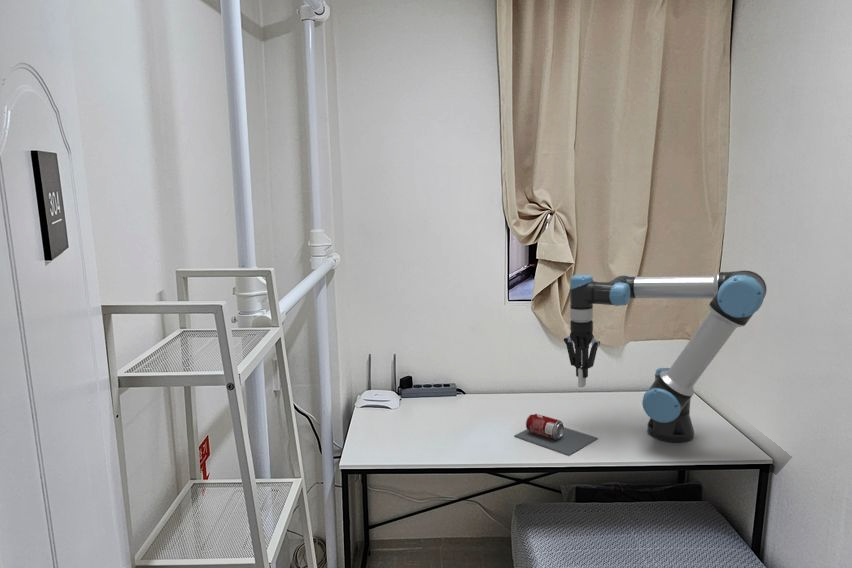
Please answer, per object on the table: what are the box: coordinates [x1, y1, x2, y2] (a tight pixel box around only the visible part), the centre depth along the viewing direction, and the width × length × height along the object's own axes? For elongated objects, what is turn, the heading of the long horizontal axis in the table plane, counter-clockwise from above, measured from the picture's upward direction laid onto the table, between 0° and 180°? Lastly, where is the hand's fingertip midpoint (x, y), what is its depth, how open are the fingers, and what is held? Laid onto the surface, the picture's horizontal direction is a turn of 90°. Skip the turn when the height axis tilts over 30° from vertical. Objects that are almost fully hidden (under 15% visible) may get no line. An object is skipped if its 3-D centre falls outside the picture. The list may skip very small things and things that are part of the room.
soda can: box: [525, 413, 565, 440], centre depth 216 cm, size 7×7×12 cm
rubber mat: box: [513, 426, 599, 457], centre depth 216 cm, size 22×18×1 cm
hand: (582, 386), depth 219 cm, fingers closed
